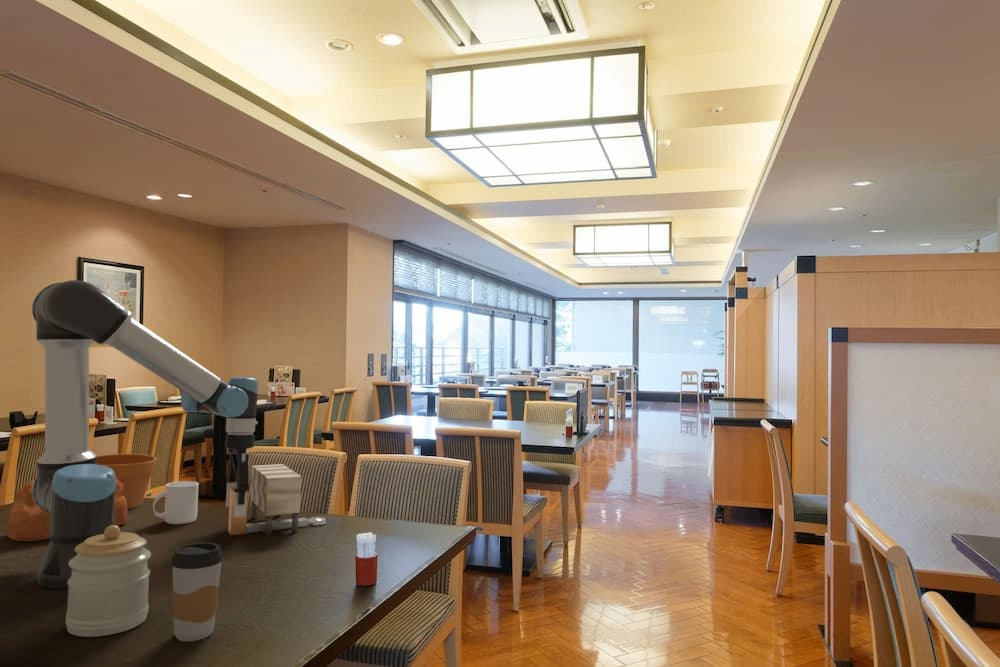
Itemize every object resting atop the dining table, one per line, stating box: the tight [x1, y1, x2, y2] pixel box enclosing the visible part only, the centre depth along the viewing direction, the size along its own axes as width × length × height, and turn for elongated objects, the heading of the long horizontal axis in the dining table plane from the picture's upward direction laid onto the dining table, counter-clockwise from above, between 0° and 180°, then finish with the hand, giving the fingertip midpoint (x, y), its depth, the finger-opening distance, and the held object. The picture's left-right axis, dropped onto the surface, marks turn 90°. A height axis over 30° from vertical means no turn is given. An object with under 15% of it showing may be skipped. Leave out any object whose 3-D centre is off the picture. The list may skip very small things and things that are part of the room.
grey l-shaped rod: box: [227, 487, 309, 536], centre depth 185 cm, size 4×21×12 cm, turn 121°
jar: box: [65, 525, 152, 638], centre depth 120 cm, size 13×13×18 cm
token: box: [307, 516, 327, 526], centre depth 192 cm, size 5×5×2 cm
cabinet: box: [250, 463, 302, 537], centre depth 190 cm, size 22×9×16 cm, turn 31°
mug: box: [152, 480, 199, 525], centre depth 190 cm, size 9×12×11 cm
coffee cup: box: [170, 542, 224, 642], centre depth 116 cm, size 8×8×15 cm
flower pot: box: [97, 453, 157, 510], centre depth 207 cm, size 21×21×15 cm
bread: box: [6, 477, 129, 543], centre depth 179 cm, size 14×26×16 cm, turn 144°
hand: (235, 511), depth 180 cm, fingers open, 13 cm apart
